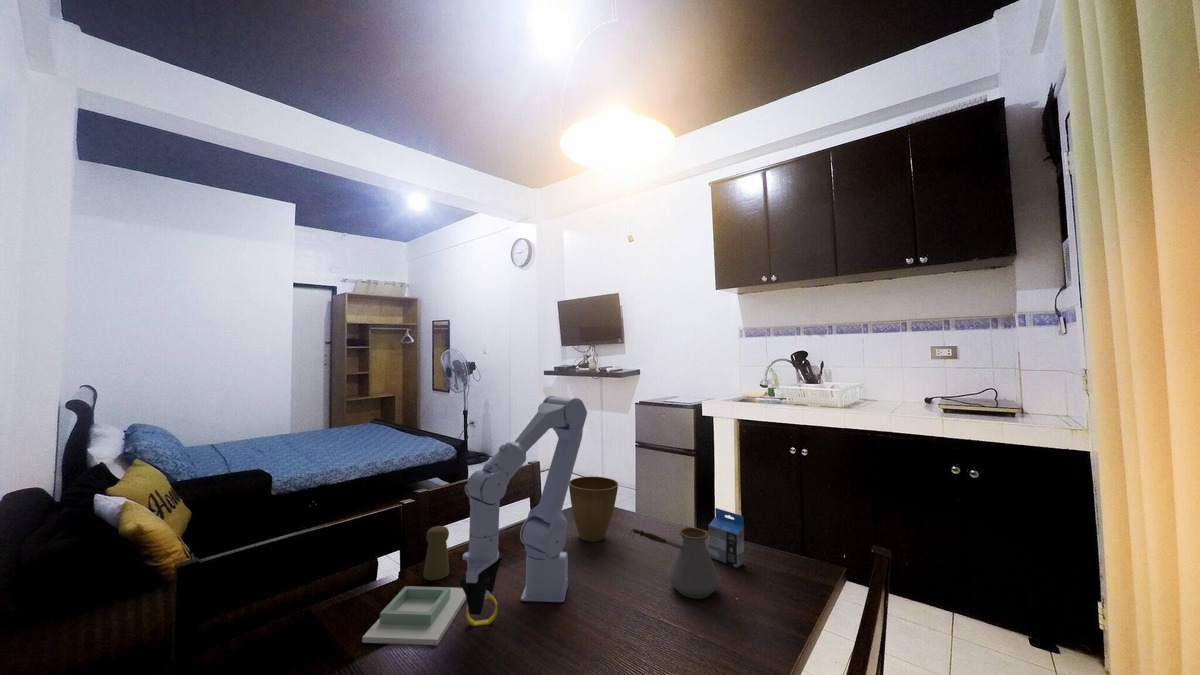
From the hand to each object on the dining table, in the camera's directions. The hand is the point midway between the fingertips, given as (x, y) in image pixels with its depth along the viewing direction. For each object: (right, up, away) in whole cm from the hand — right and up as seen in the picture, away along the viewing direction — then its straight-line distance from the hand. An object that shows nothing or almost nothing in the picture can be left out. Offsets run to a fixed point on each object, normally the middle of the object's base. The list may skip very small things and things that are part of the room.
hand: (481, 602), depth 86 cm
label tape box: (+57, -7, +29) cm, 64 cm away
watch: (0, -4, 0) cm, 4 cm away
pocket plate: (-13, -4, +2) cm, 14 cm away
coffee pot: (+40, -6, +12) cm, 43 cm away
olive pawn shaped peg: (-16, -5, +19) cm, 26 cm away
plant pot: (+21, -7, +43) cm, 49 cm away
